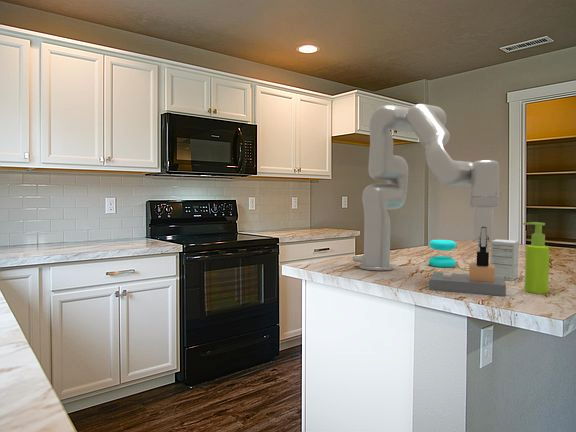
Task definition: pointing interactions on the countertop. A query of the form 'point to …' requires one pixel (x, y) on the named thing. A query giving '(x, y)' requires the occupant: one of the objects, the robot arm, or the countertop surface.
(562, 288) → the countertop surface
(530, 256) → the soap dispenser
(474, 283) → the socket
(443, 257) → the donuts
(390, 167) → the robot arm
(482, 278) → the plug
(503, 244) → the supplement box
